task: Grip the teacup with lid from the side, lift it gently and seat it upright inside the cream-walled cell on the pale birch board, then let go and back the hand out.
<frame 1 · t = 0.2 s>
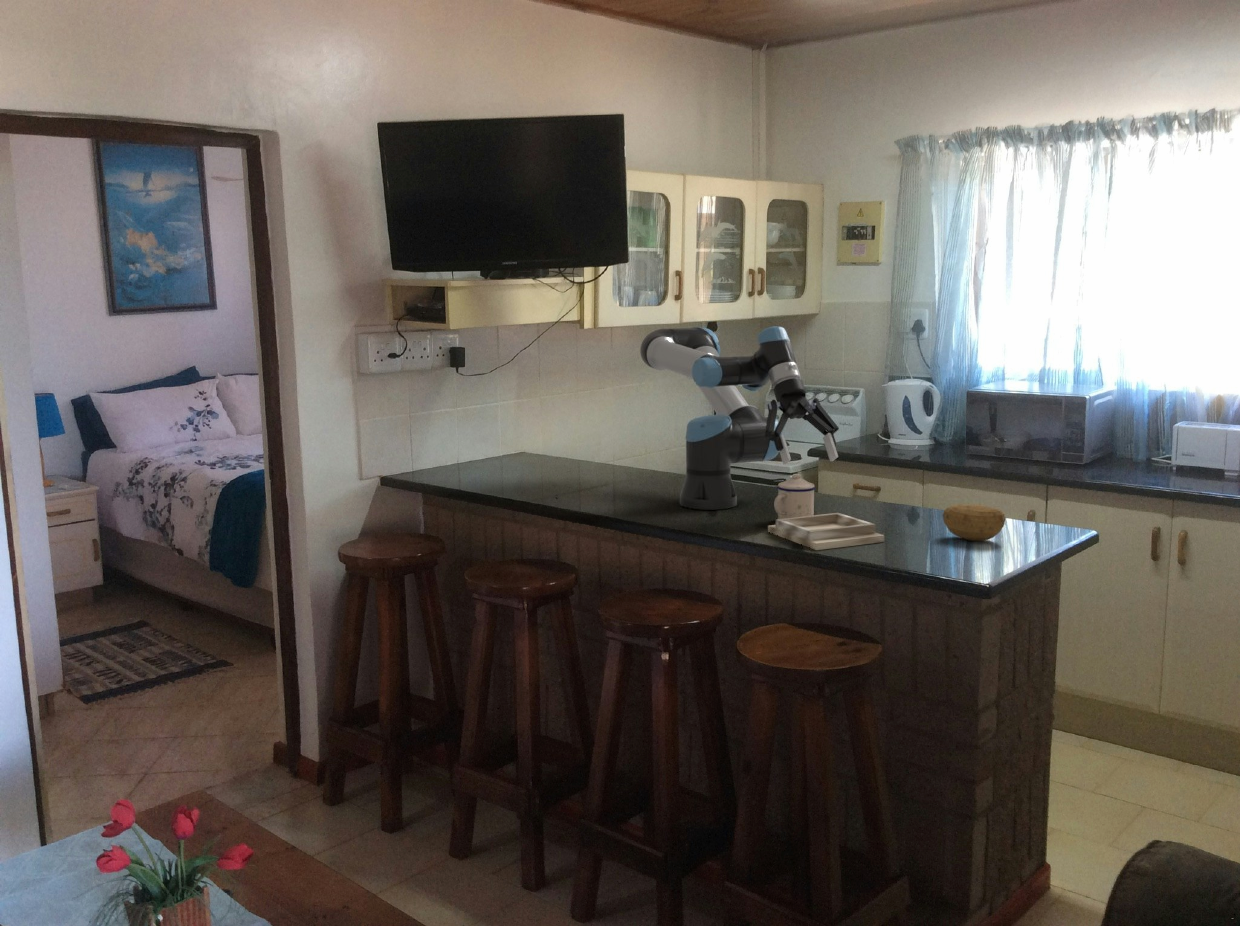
hand: (811, 460, 264), 15 cm above the worktop, tool tilted 35°, fingers open, 13 cm apart
teacup with lid: (791, 522, 264), on the worktop
cradle board: (824, 536, 248), on the worktop
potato: (972, 540, 244), on the worktop
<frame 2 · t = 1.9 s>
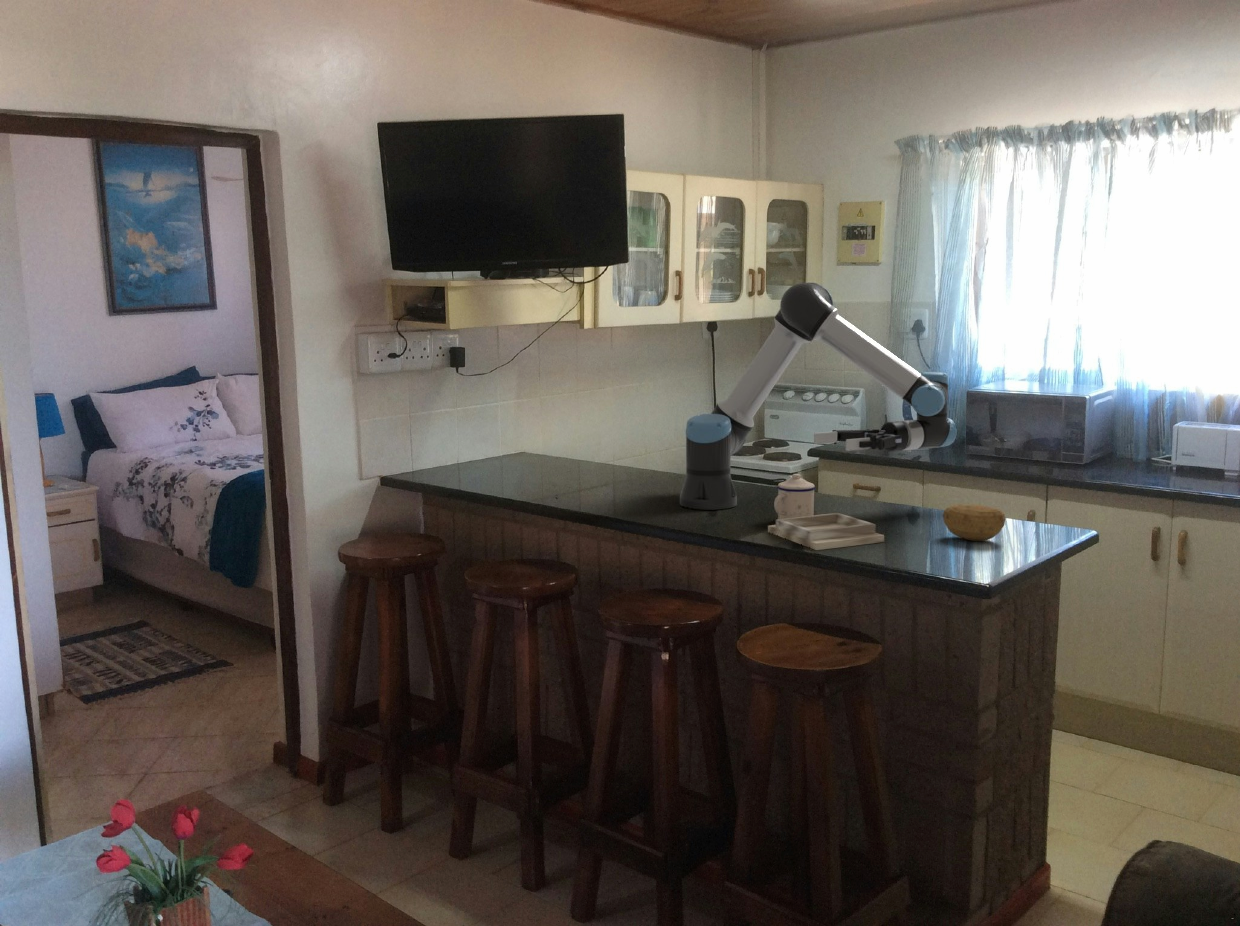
hand: (830, 441, 266), 19 cm above the worktop, tool horizontal, fingers open, 13 cm apart
nothing on the worktop moved.
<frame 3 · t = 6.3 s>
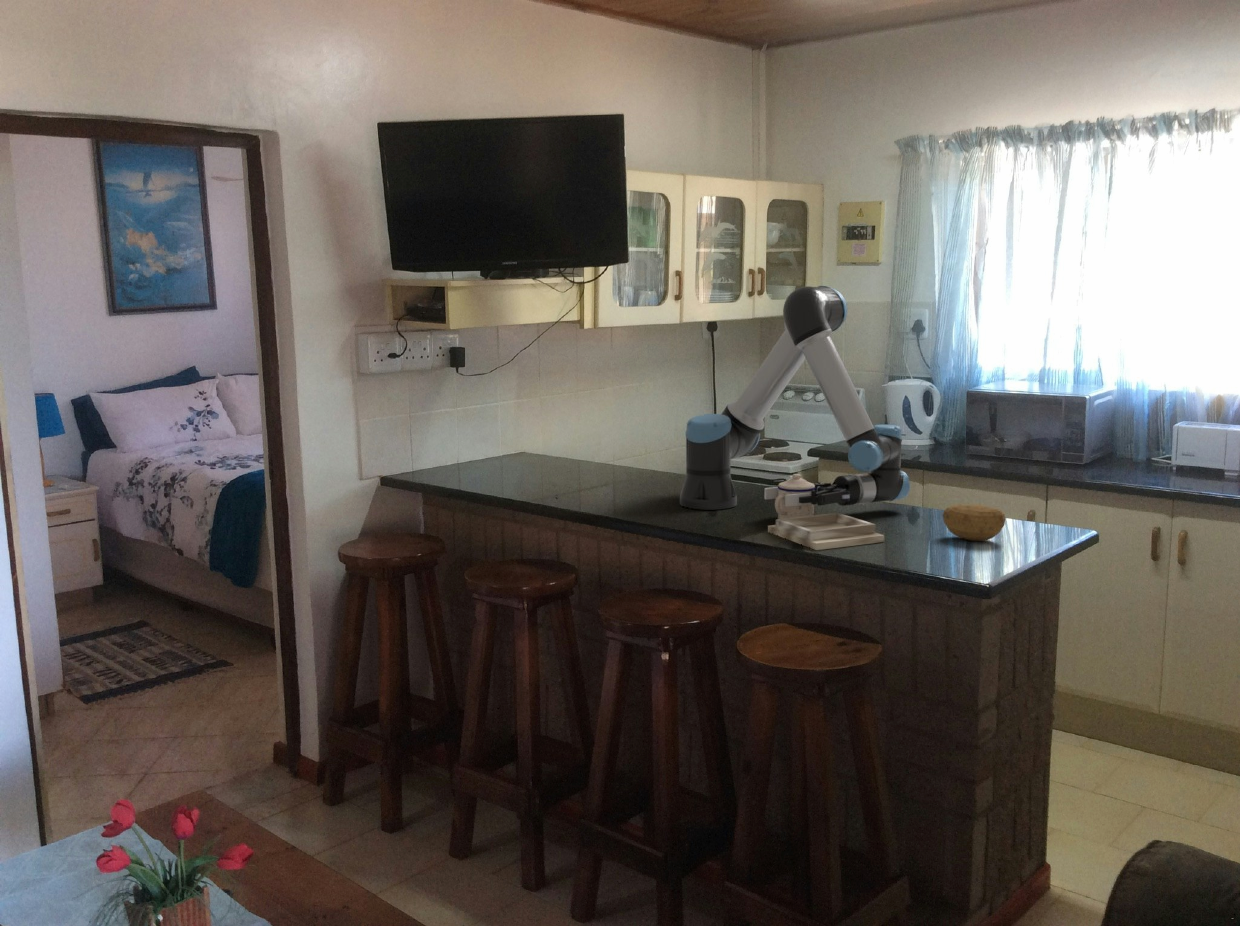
hand: (775, 497, 262), 7 cm above the worktop, tool horizontal, fingers closed on teacup with lid, 9 cm apart
teacup with lid: (791, 522, 264), on the worktop, touching gripper
everything else where it was.
when the fingers open (9 cm above the worktop, at t = 11.4 s): teacup with lid drops 1 cm, resting on cradle board.
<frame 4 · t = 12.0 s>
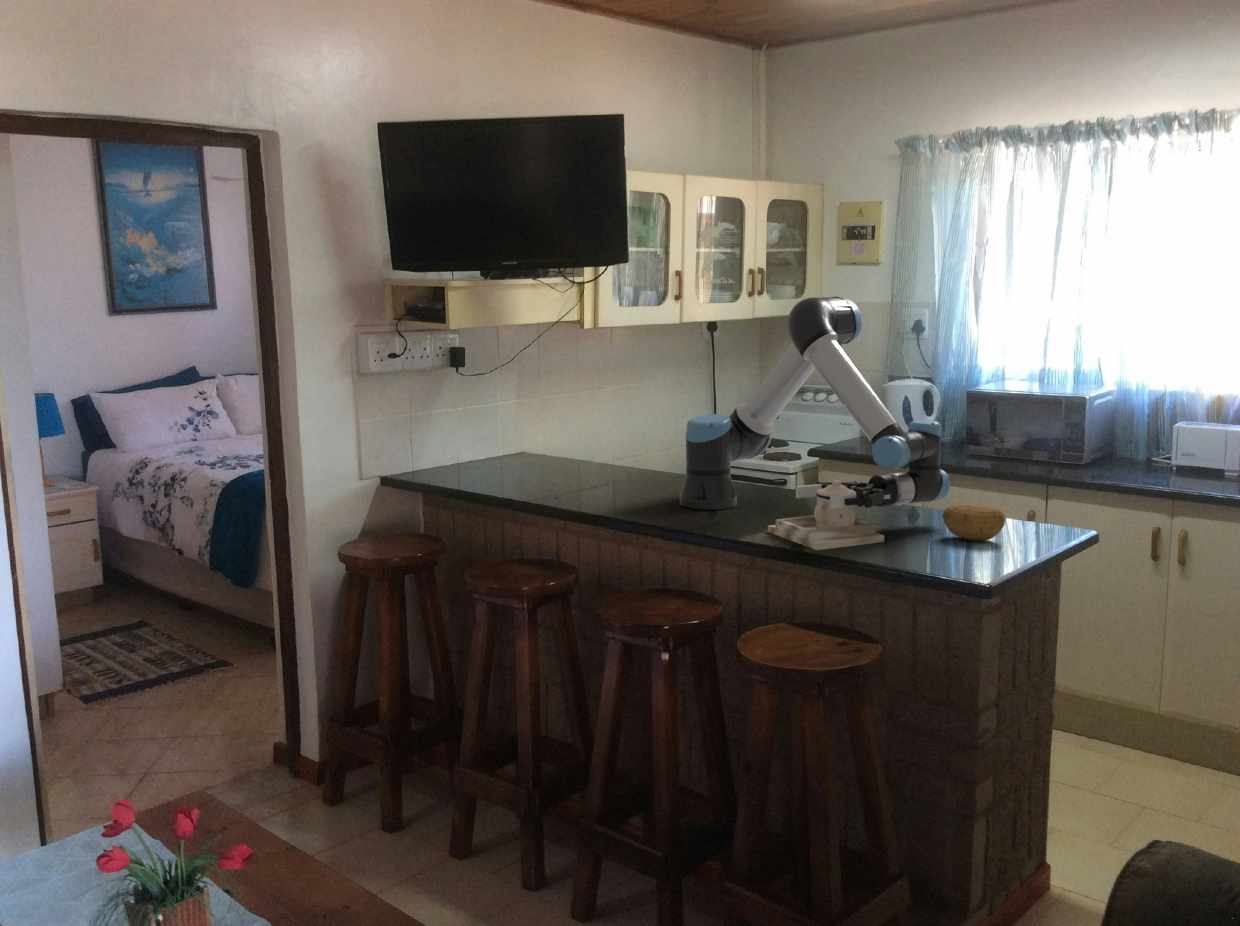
hand: (813, 497, 245), 9 cm above the worktop, tool horizontal, fingers open, 13 cm apart
teacup with lid: (831, 532, 246), point 1 cm above the worktop, touching cradle board
everything else where it was.
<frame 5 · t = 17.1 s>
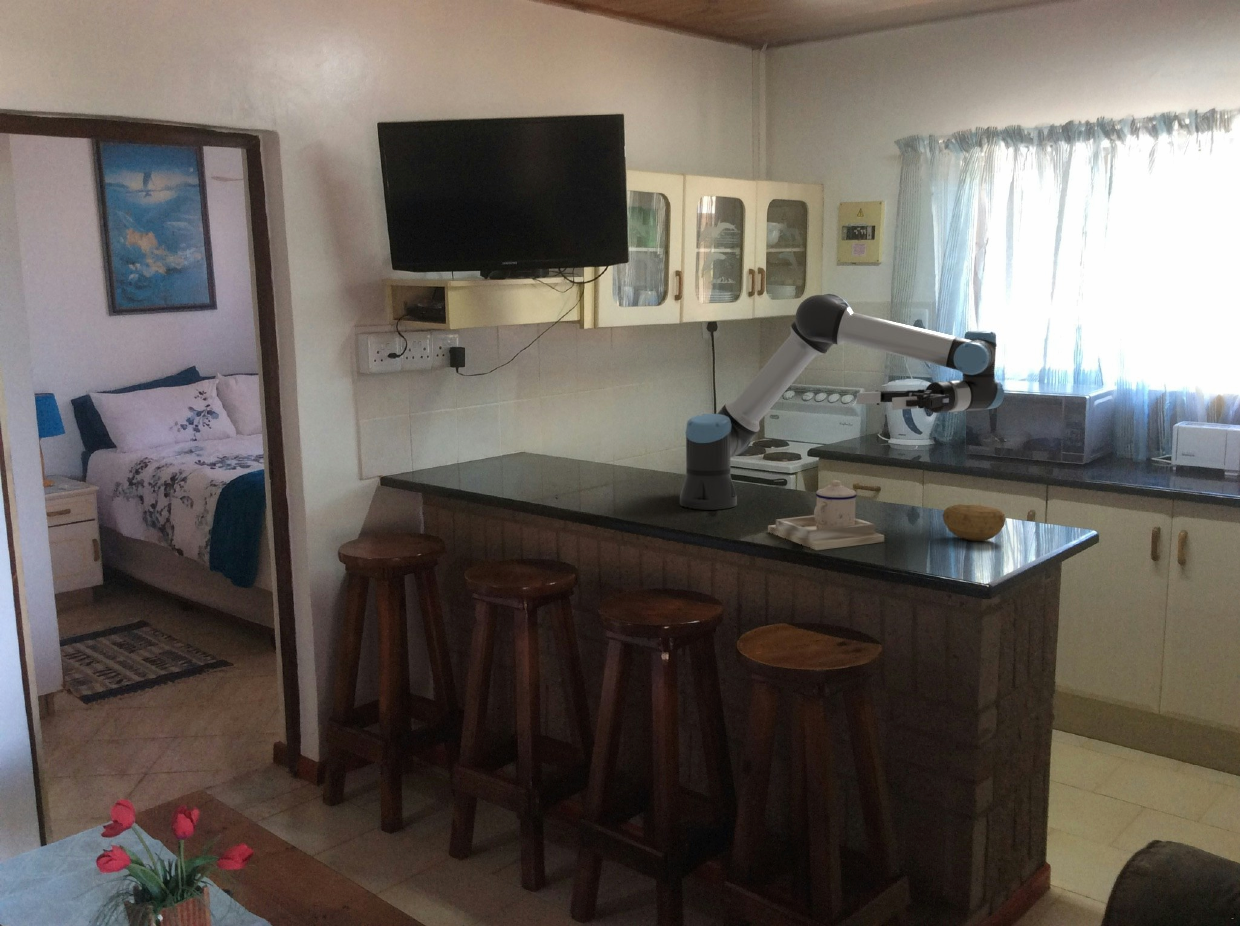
hand: (874, 401, 255), 30 cm above the worktop, tool horizontal, fingers open, 13 cm apart
nothing on the worktop moved.
at the end: teacup with lid 2.1 cm off-centre on the cradle board, point 1.3 cm above the cradle board's base; teacup with lid tilted 0°; the gripper is holding nothing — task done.
